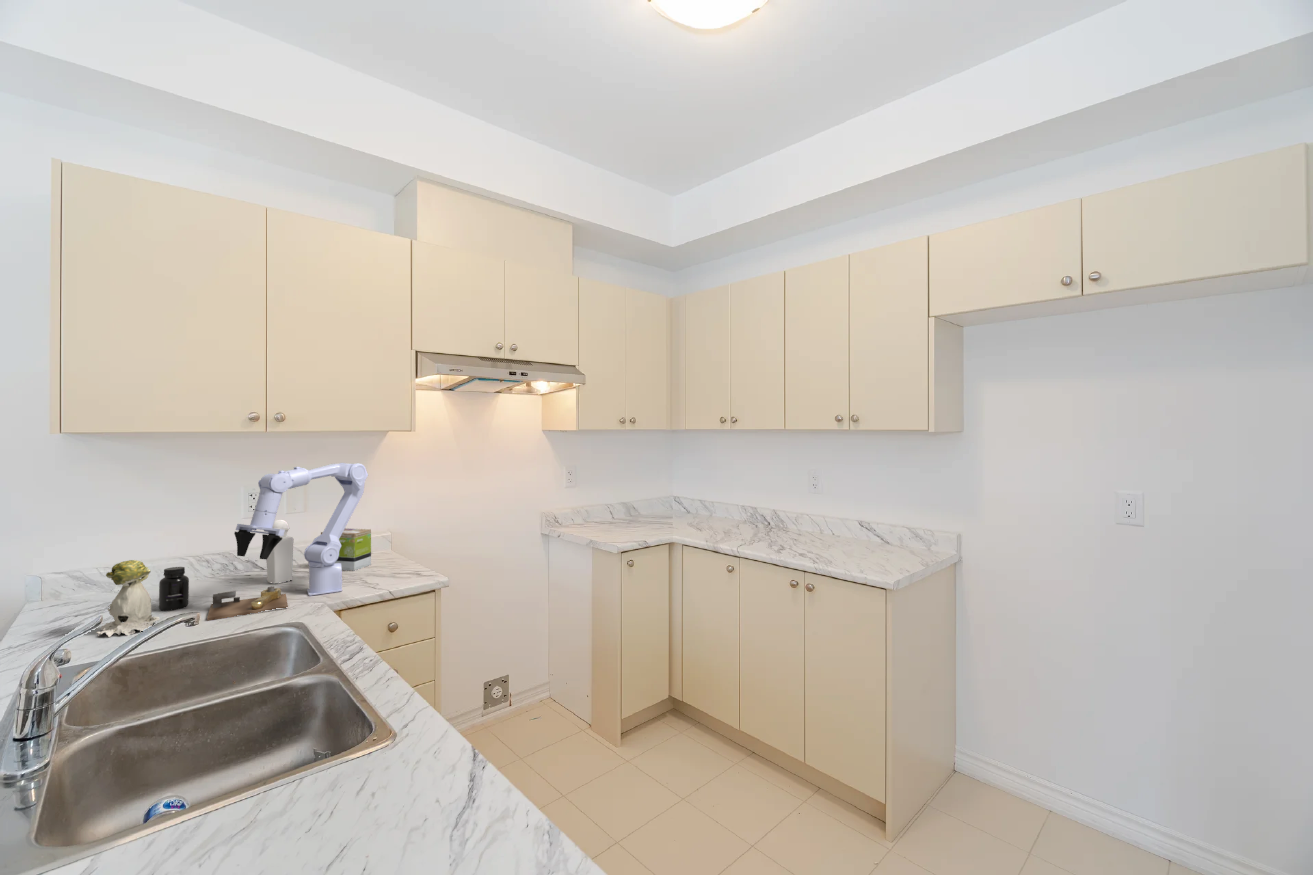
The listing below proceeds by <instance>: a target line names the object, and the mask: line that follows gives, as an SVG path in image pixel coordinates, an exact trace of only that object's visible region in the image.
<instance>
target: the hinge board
mask: <svg viewBox="0 0 1313 875" xmlns="http://www.w3.org/2000/svg"><path fill="white" fill-rule="evenodd" d="M274 588H275V586H272V585H271V586H267V589H268V592H269V591H274ZM236 592H237V591H236V590H233V591H231V590H230V591H223V592H217V593H215V594H212V603H211V604H210V607H209V610H208V614H207V618H206V621H207V622H208V621H209V622H210V621H215V620H222V619H227V617H229V618H234V616H236V617H238V616H237V615H242V616H248V615H247V614H249V615H251V614H250V613H255V614H259V613H258V612H261V611H265V610H272V609H276V608H286V607H288V608H289V604H288V599H287V593H281V597H279V598H278V599H275V600H271V601H270V602H268V603H267V604H266V605H264V606H263V608H260V609H251V602H253V601H255V600H257V599H258V598H260V597H261V596H259V597H252V598H243V599H240V597H241V596H236V595H237V593H236ZM232 598H233V600H229V601H222V600H225V599H232Z"/></svg>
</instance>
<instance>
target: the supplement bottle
mask: <svg viewBox="0 0 1313 875" xmlns="http://www.w3.org/2000/svg"><path fill="white" fill-rule="evenodd" d="M185 570H186V569H185V566H172V567H166V568H164V569H163V576H164V577H163V578H161V579H160V580H159V583H158V587H159V588H158V589H159V590H158V609H159V610H160V611H162V612H170V611H177V610H181V609H185V608H186V607H188V606H189V602H190V601H189V600H190V599H189V597H190V594H189V593H190V579H189V577H188V576H187V575H185V574H186V572H185Z"/></svg>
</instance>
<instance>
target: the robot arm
mask: <svg viewBox="0 0 1313 875" xmlns="http://www.w3.org/2000/svg"><path fill="white" fill-rule="evenodd" d="M368 476H369V474H368V472H367V468H366V466H365V465H364V464H363V463H358V462H357V463H347V462H338V463H331V464H327V465H323V466H322V465H321V466H319V467H315V468H312V469H307V468H305V467H301V466H294V467H293V469H289V470H283V469H282V470H278V473H266V474H264V475H263V476H262V477H261V479H259V480H258V488H259V494H258V498H257V501H256V504H255V507H254V511H253V513H252V517H251V520H250V524H244V523H243V524H242V523H237V525H236V527H235V531H234V533H233V534H234V536H235V541H236V549H237V550H236V555H237V557H245V556H246V555H247V551H248V549H249V546H250V544H251V542H252V541H253V538H254V537H255V536H256V534H257V533H258V534H261V535H262V544H261V551H260V553H259V554H260V555H259V560H266V559H267V558H268V557H269V555H270V553H271V552H272V550H273V549H274V547H275V546H276V545H277V544H278V543H279V542H280V541H281V540H282V537H280V536H283V535H284V531H285V530H282V529H275V528H272V527H273V524H274V521H276V517H277V513H278V510H279V506H280V503H281V500H282V496H283V493H285V492H287V490H289V489H290V490H291V489H295V488H298V487H303V486H307V485H308V484H309V483H310V482H311V480H315V479H321V478H325V477H334V479H336V481H337V482H338V484H339V485H340V486H341V488H342V489H343V491H344V493H343V495H342V496H341V498H340V500H339V502H338V503H337V505H336V508H335V509H334V511H333V513H332V515H331V517H330V518H329V520H328V522H327V523H326V525H325V527H324V530H323V531H322V532H323V533H322V534H321V533H320V535H318V536H317V537H315V538H314V539H313V541H312V542H311V543H310V544H309V545H307V547H306V548H305V549H304V552H303V557H304V559H305V560H306V561H307V562H308V582H309V583H308V585H309V586H308V587H309V588H307V589H306V591H307V594H308V596H309V597H310V596H317V595H323V594H332V593H337V592H338V593H339V592H342V591H343V578H342V577H343V575H342V574H343V570H342V568H341V563H335V562H336V561H337V559H338V557H339V550H340V548H341V543H340V541H339V538H340V536H341V535H342V533H343V531H344V529H345V528H346V527H347V525H348V523H349V522H350V519H351V517H352V516H353V513H354V512H355V510H356V508H357V506H358V504H359V503H360V501H361V498H362V496H363V495H364V491H365V484H366V483H365V482H366V480H367V478H368ZM261 530H262V531H261Z"/></svg>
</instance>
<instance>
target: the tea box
mask: <svg viewBox="0 0 1313 875" xmlns="http://www.w3.org/2000/svg"><path fill="white" fill-rule="evenodd" d="M322 533H323V531H320V535H321V534H322ZM339 541H340V543H341V548H340V550H339V557H338V559H337V561H336V562H335V563H341V568H342V571H349V570H352V571H351V572H355V570H356V571H359V570H361V568H362V569H363V567H364V568H367V567H370V566H372V530H371V528H370V529H366V528H348V527H347V528H346V527H345V529H344V531H343V533H342V535H341V536H340V538H339ZM369 565H370V566H369ZM366 566H367V567H366ZM358 569H359V570H358Z"/></svg>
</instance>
